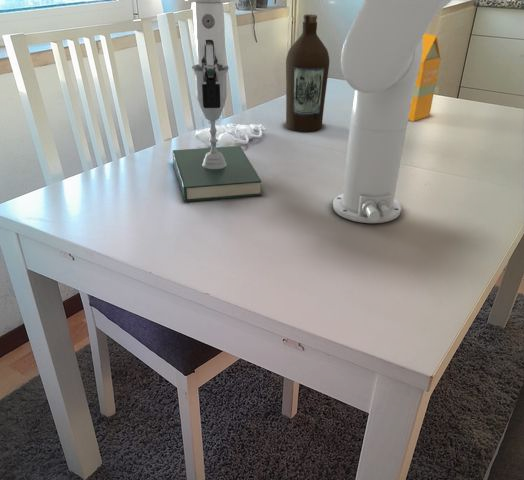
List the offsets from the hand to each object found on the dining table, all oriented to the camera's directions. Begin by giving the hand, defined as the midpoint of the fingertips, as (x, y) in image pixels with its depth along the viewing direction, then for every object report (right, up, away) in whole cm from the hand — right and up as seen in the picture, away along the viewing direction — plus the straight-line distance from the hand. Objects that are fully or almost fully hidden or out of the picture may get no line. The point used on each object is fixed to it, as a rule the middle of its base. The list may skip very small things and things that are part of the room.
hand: (211, 101), depth 103 cm
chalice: (0, -10, +8) cm, 12 cm away
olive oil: (+21, +11, +39) cm, 45 cm away
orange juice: (+51, +18, +48) cm, 72 cm away
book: (0, -12, +9) cm, 15 cm away
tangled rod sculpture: (+2, +4, +29) cm, 29 cm away
